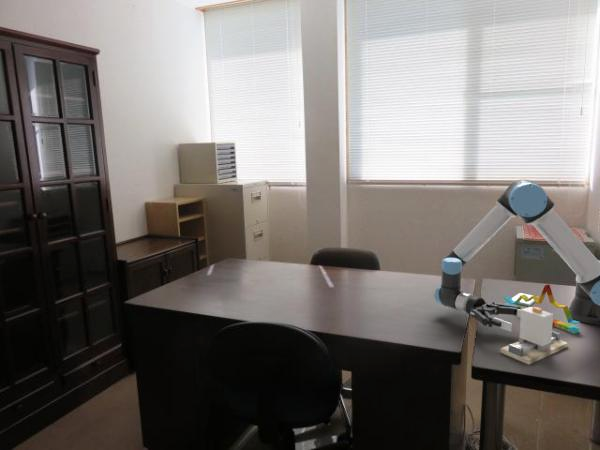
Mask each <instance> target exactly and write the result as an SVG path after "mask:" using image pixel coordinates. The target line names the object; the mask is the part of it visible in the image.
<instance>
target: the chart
mask: <svg viewBox="0 0 600 450" xmlns="http://www.w3.org/2000/svg"><path fill="white" fill-rule="evenodd" d="M546 295H547V297H548V301H549V304H551V305H552V306H553V307H555V308H561V309H562V310H563V313H564V316H565V318H566V321H567V323H566V322H563V321H561V320H558V319H555V318H553V324H552V327H555V328H557V329H560V330H562V331H566V332H568V333H571V334H573V335H574V334H577V333H579V332H580V327H578V326H575V325H576V324H580V323H581V322H580V321H577V320H575V319H573V318H572V317H571V314H570V312H569V307H568V305H564V304H560V303H559V302H557V301H555V298H554V295H553V291H552V288H551V285H550V284H545V285H544V286H543V289H542V292H541V294H540V297H539V296H538V295H537V294H534V295H533V296H532V297H530V298H528V297H527V296H526V295H521V296H520V297H519V298H518V299H517V300H516V301H513V300H512V298H511V297H510V296H509V295H507V296H504V297H503V299H504V300H505V301H506V303H504V304H507V305H513V306H517V304H515V303H519V302H520V300H521V299H524V301H525V302H527V301H530V300H532V299H534V300H535V302H534V303H536V304H537V305H541V304H542V303H543V301H544V300H545V298H546V297H545V296H546ZM538 297H539V298H538ZM522 309H525V308H524V307H521V310H522ZM572 324H573V325H572Z"/></svg>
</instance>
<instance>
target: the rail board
mask: <svg viewBox="0 0 600 450" xmlns="http://www.w3.org/2000/svg"><path fill="white" fill-rule="evenodd" d="M512 344H513V345H515V346H518V345H520V343H519V340H518V341H516V342H513V343H512ZM568 345H569V342H567V341H564V340H561V339H560V340H558V341H557V340H556V341H554V342H551V348H550V349H547V350H545V351H543V352H541V351H538V350H537V349H535V350H533V351H531V352H528V353H526V354H524V355H523V356H522V357H520V356H518V355H516V354H513V353H511V352H508V351H509V344H508V345H506V346H503V347H501V348H500V354H502V355H505V356H508V357H510V358H513V359H515V360H517V361H519V362H522V363H524V364H526V365H531V364H533V363H536V362H538V361H541V360H542V359H544V358H547V357H549V356H551V355H553V354H555V353H558V352H559V351H561V350H564V349H566V348H568V347H569V346H568Z"/></svg>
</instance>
